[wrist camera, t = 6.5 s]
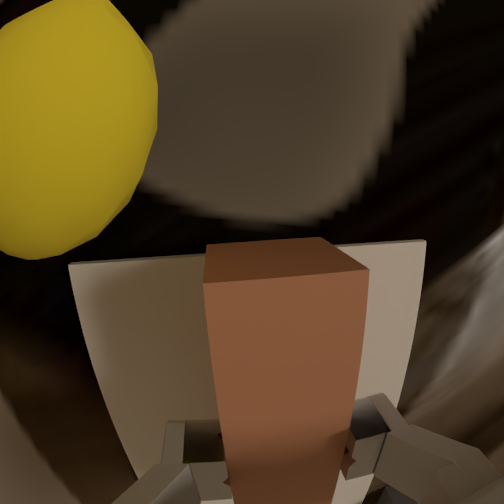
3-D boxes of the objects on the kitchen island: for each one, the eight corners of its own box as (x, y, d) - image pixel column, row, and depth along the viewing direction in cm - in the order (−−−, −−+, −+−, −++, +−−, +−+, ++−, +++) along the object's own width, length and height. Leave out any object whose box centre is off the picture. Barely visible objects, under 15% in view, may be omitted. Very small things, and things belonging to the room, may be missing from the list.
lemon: (143, 248, 10) (80, 355, 5) (12, 207, 9) (-92, 268, 4) (209, 34, 8) (188, -59, 3) (58, 14, 7) (-43, -34, 2)
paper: (71, 262, 9) (66, 265, 9) (421, 239, 10) (427, 241, 10) (170, 532, 14) (170, 537, 13) (355, 511, 15) (357, 515, 15)
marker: (205, 244, 8) (199, 285, 5) (321, 237, 9) (374, 270, 6) (233, 483, 11) (240, 542, 8) (307, 473, 11) (325, 529, 8)
